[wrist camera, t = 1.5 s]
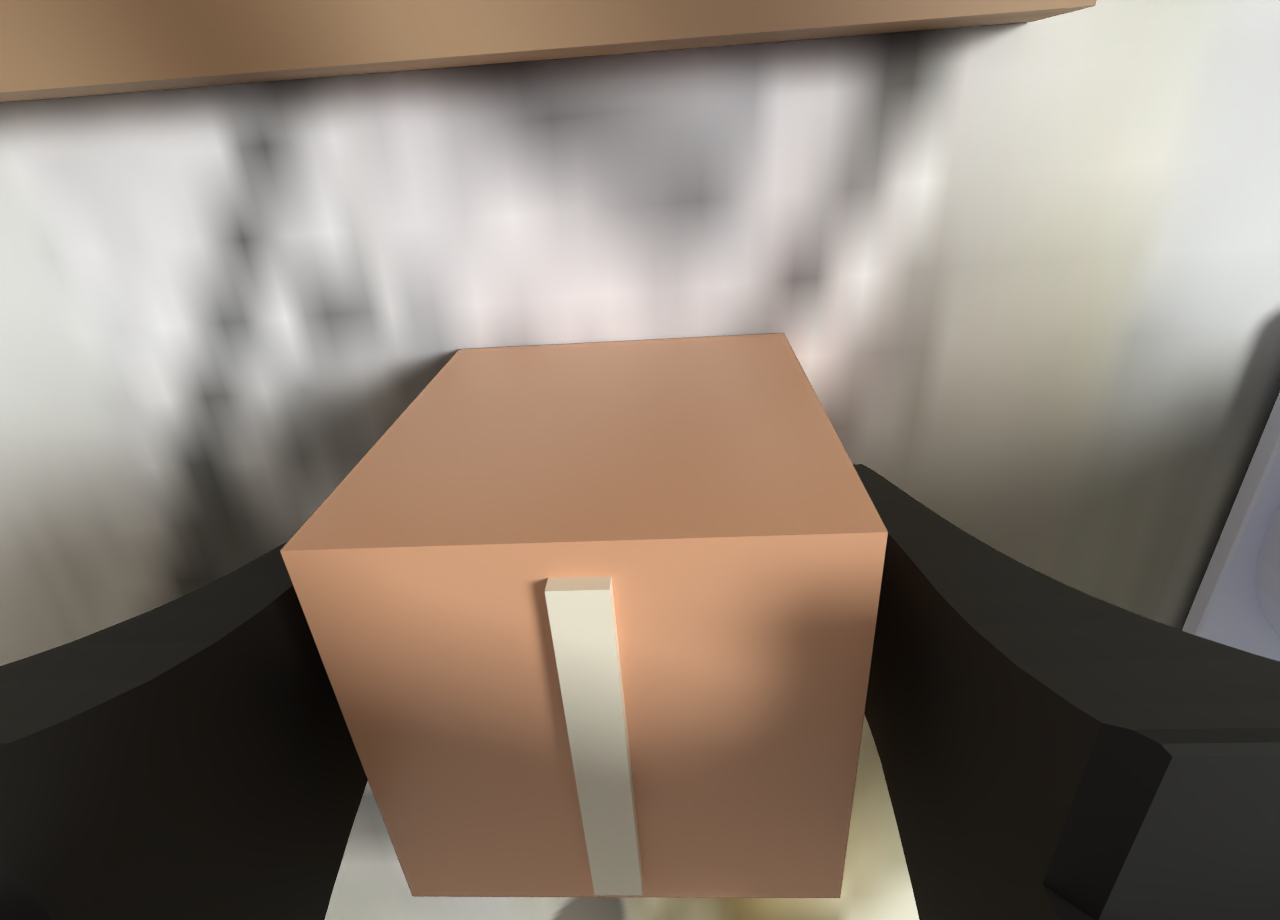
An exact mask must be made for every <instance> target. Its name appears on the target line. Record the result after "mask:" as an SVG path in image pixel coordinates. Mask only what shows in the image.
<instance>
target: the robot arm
mask: <svg viewBox="0 0 1280 920" xmlns="http://www.w3.org/2000/svg"><path fill="white" fill-rule="evenodd" d="M853 466H854V468H855V470H856V472H857V474H858V476H859V478H860V480H861V481H862V483H863V485H864V487H865V489H866V491H867V493H868V495H869V497H870V499H871V501H872V503H873V504H874V506H875V508H876V510H877V512H878V514H879V516H880V518H881V520H882V522H883V524H884V526H885V527H886V529H887V531H888V536H887V543H886V551H885V559H884V566H883V574H882V582H881V589H880V597H879V605H878V612H877V620H876V627H875V635H874V643H873V650H872V658H871V666H870V673H869V681H868V689H867V696H866V704H865V712H864V713H865V716H866V719H867V721H868V724H869V727H870V729H871V732H872V735H873V738H874V741H875V744H876V747H877V751H878V754H879V757H880V760H881V764H882V768H883V771H884V775H885V779H886V783H887V787H888V791H889V795H890V798H891V802H892V806H893V810H894V814H895V818H896V822H897V826H898V830H899V834H900V838H901V842H902V846H903V851H904V855H905V859H906V863H907V867H908V871H909V875H910V880H911V884H912V888H913V892H914V897H915V901H916V906H917V910H918V915H919V919H920V920H1280V392H1279V395H1278V397H1277V400H1276V402H1275V405H1274V407H1273V409H1272V412H1271V414H1270V417H1269V419H1268V422H1267V424H1266V426H1265V429H1264V431H1263V434H1262V436H1261V439H1260V441H1259V444H1258V446H1257V448H1256V451H1255V453H1254V456H1253V458H1252V461H1251V463H1250V465H1249V468H1248V470H1247V473H1246V475H1245V478H1244V480H1243V483H1242V485H1241V487H1240V490H1239V492H1238V495H1237V497H1236V500H1235V502H1234V504H1233V507H1232V509H1231V512H1230V514H1229V517H1228V519H1227V522H1226V524H1225V526H1224V529H1223V531H1222V534H1221V536H1220V539H1219V541H1218V543H1217V546H1216V548H1215V551H1214V553H1213V556H1212V558H1211V561H1210V563H1209V565H1208V568H1207V570H1206V573H1205V575H1204V578H1203V580H1202V582H1201V585H1200V587H1199V590H1198V592H1197V595H1196V597H1195V600H1194V602H1193V604H1192V607H1191V609H1190V612H1189V614H1188V617H1187V619H1186V621H1185V624H1184V626H1183V629H1182V631H1181V630H1178V629H1176V628H1173V627H1170V626H1167V625H1164V624H1161V623H1159V622H1156V621H1153V620H1150V619H1147V618H1145V617H1142V616H1140V615H1137V614H1135V613H1132V612H1130V611H1127V610H1125V609H1122V608H1120V607H1117V606H1114V605H1112V604H1109V603H1107V602H1104V601H1102V600H1099V599H1097V598H1094V597H1092V596H1090V595H1087V594H1085V593H1083V592H1080V591H1078V590H1076V589H1074V588H1071V587H1069V586H1067V585H1065V584H1062V583H1060V582H1058V581H1056V580H1054V579H1052V578H1050V577H1048V576H1046V575H1044V574H1042V573H1040V572H1038V571H1036V570H1033V569H1031V568H1029V567H1027V566H1025V565H1023V564H1021V563H1019V562H1017V561H1015V560H1014V559H1012V558H1010V557H1008V556H1006V555H1004V554H1002V553H1000V552H999V551H997V550H995V549H994V548H992V547H990V546H988V545H987V544H985V543H983V542H981V541H980V540H978V539H976V538H975V537H973V536H971V535H969V534H968V533H966V532H964V531H963V530H961V529H960V528H958V527H956V526H955V525H953V524H952V523H950V522H948V521H947V520H945V519H944V518H942V517H941V516H939V515H938V514H936V513H935V512H933V511H931V510H930V509H928V508H927V507H925V506H924V505H923V504H921V503H920V502H918V501H917V500H915V499H914V498H912V497H911V496H909V495H908V494H906V493H905V492H904V491H902V490H901V489H899V488H898V487H896V486H895V485H893V484H892V483H891V482H889V481H888V480H886V479H885V478H883V477H882V476H880V475H879V474H877V473H876V472H874V471H873V470H871V469H870V468H868V467H866V466H864V465H862V464H858V465H853ZM287 543H288V542H286V543H284V544H282V545H281V546H279V547H277V548H275V549H273V550H272V551H270V552H268V553H266V554H264V555H263V556H261V557H259V558H257V559H255V560H254V561H252V562H250V563H248V564H247V565H245V566H243V567H241V568H239V569H238V570H236V571H234V572H232V573H230V574H228V575H226V576H224V577H222V578H220V579H218V580H216V581H214V582H212V583H210V584H208V585H206V586H204V587H202V588H200V589H198V590H196V591H193V592H191V593H189V594H187V595H185V596H183V597H180V598H178V599H176V600H174V601H172V602H170V603H168V604H165V605H163V606H161V607H158V608H156V609H154V610H152V611H149V612H147V613H144V614H142V615H139V616H136V617H134V618H131V619H129V620H126V621H124V622H121V623H119V624H116V625H114V626H111V627H109V628H106V629H104V630H101V631H99V632H96V633H94V634H91V635H89V636H86V637H84V638H81V639H79V640H76V641H73V642H71V643H68V644H65V645H62V646H59V647H56V648H54V649H51V650H48V651H45V652H42V653H39V654H36V655H33V656H31V657H28V658H25V659H22V660H18V661H15V662H12V663H9V664H6V665H3V666H0V920H324V919H325V916H326V912H327V908H328V905H329V901H330V898H331V894H332V890H333V887H334V884H335V881H336V877H337V874H338V871H339V868H340V864H341V861H342V858H343V855H344V851H345V848H346V845H347V842H348V838H349V835H350V832H351V829H352V825H353V822H354V819H355V816H356V813H357V810H358V807H359V805H360V802H361V799H362V796H363V793H364V790H365V787H366V784H367V781H368V779H367V776H366V774H365V771H364V768H363V766H362V763H361V761H360V758H359V755H358V753H357V750H356V748H355V745H354V742H353V740H352V737H351V735H350V732H349V729H348V727H347V724H346V721H345V719H344V716H343V714H342V711H341V708H340V706H339V703H338V701H337V698H336V695H335V693H334V690H333V688H332V685H331V682H330V680H329V677H328V675H327V672H326V669H325V667H324V664H323V662H322V659H321V656H320V654H319V651H318V648H317V646H316V643H315V641H314V638H313V635H312V633H311V630H310V628H309V625H308V622H307V620H306V617H305V615H304V612H303V609H302V607H301V604H300V602H299V599H298V596H297V594H296V591H295V589H294V586H293V583H292V581H291V578H290V575H289V573H288V570H287V568H286V565H285V562H284V560H283V557H282V555H281V552H280V550H281V549H282V548H283V547H284V546H285V545H286V544H287Z"/></svg>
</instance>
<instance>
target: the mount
mask: <svg viewBox="0 0 1280 920" xmlns="http://www.w3.org/2000/svg"><path fill="white" fill-rule="evenodd" d="M1095 4H1096V0H0V102H12V101H25V100H37V99H50V98H63V97H76V96H89V95H101V94H114V93H127V92H140V91H152V90H165V89H178V88H191V87H203V86H216V85H229V84H242V83H254V82H267V81H280V80H293V79H306V78H318V77H331V76H344V75H357V74H369V73H382V72H395V71H408V70H420V69H433V68H446V67H459V66H471V65H484V64H497V63H510V62H523V61H535V60H548V59H561V58H574V57H586V56H599V55H612V54H625V53H637V52H650V51H663V50H676V49H688V48H701V47H714V46H727V45H740V44H752V43H765V42H778V41H791V40H803V39H816V38H829V37H842V36H854V35H867V34H880V33H893V32H905V31H918V30H931V29H944V28H956V27H969V26H982V25H995V24H1008V23H1020V22H1033V21H1037V20H1041V19H1045V18H1049V17H1052V16H1056V15H1060V14H1064V13H1068V12H1072V11H1076V10H1080V9H1084V8H1088V7H1092V6H1095Z"/></svg>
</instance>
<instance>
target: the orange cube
mask: <svg viewBox="0 0 1280 920" xmlns="http://www.w3.org/2000/svg"><path fill="white" fill-rule="evenodd" d="M887 536H888V531H887V529H886V527H885V526H884V524H883V522H882V520H881V518H880V516H879V514H878V512H877V510H876V508H875V506H874V504H873V503H872V501H871V499H870V497H869V495H868V493H867V491H866V489H865V487H864V485H863V483H862V481H861V480H860V478H859V476H858V474H857V472H856V470H855V468H854V466H853V464H852V462H851V460H850V458H849V457H848V455H847V453H846V451H845V449H844V447H843V445H842V443H841V441H840V439H839V437H838V435H837V434H836V432H835V430H834V428H833V426H832V424H831V422H830V420H829V418H828V416H827V414H826V413H825V411H824V409H823V407H822V405H821V403H820V401H819V399H818V397H817V395H816V393H815V391H814V390H813V388H812V386H811V384H810V382H809V380H808V378H807V376H806V374H805V372H804V370H803V368H802V367H801V365H800V363H799V361H798V359H797V357H796V355H795V353H794V351H793V349H792V347H791V345H790V344H789V342H788V340H787V338H786V336H785V334H784V333H774V334H754V335H734V336H714V337H695V338H675V339H655V340H635V341H615V342H595V343H575V344H555V345H535V346H516V347H496V348H476V349H459V350H458V351H457V352H456V354H455V355H454V356H453V357H452V358H451V359H450V360H449V361H448V363H447V364H446V365H445V366H444V367H443V368H442V369H441V370H440V372H439V373H438V374H437V375H436V376H435V377H434V378H433V379H432V381H431V382H430V383H429V384H428V385H427V386H426V387H425V388H424V390H423V391H422V392H421V393H420V394H419V395H418V396H417V397H416V399H415V400H414V401H413V402H412V403H411V404H410V405H409V406H408V408H407V409H406V410H405V411H404V412H403V413H402V414H401V415H400V417H399V418H398V419H397V420H396V421H395V422H394V423H393V424H392V426H391V427H390V428H389V429H388V430H387V431H386V432H385V433H384V435H383V436H382V437H381V438H380V439H379V440H378V441H377V442H376V444H375V445H374V446H373V447H372V448H371V449H370V450H369V451H368V453H367V454H366V455H365V456H364V457H363V458H362V459H361V460H360V462H359V463H358V464H357V465H356V466H355V467H354V468H353V469H352V471H351V472H350V473H349V474H348V475H347V476H346V477H345V478H344V480H343V481H342V482H341V483H340V484H339V485H338V486H337V487H336V489H335V490H334V491H333V492H332V493H331V494H330V495H329V496H328V498H327V499H326V500H325V501H324V502H323V503H322V504H321V505H320V507H319V508H318V509H317V510H316V511H315V512H314V513H313V514H312V516H311V517H310V518H309V519H308V520H307V521H306V522H305V523H304V525H303V526H302V527H301V528H300V529H299V530H298V531H297V532H296V534H295V535H294V536H293V537H292V538H291V539H290V540H289V541H288V543H287V544H286V545H285V546H284V547H283V548H282V549H281V550H280V552H281V555H282V557H283V560H284V562H285V565H286V568H287V570H288V573H289V575H290V578H291V581H292V583H293V586H294V589H295V591H296V594H297V596H298V599H299V602H300V604H301V607H302V609H303V612H304V615H305V617H306V620H307V622H308V625H309V628H310V630H311V633H312V635H313V638H314V641H315V643H316V646H317V648H318V651H319V654H320V656H321V659H322V662H323V664H324V667H325V669H326V672H327V675H328V677H329V680H330V682H331V685H332V688H333V690H334V693H335V695H336V698H337V701H338V703H339V706H340V708H341V711H342V714H343V716H344V719H345V721H346V724H347V727H348V729H349V732H350V735H351V737H352V740H353V742H354V745H355V748H356V750H357V753H358V755H359V758H360V761H361V763H362V766H363V768H364V771H365V774H366V776H367V779H368V781H369V784H370V787H371V789H372V792H373V794H374V797H375V800H376V802H377V805H378V808H379V810H380V813H381V815H382V818H383V821H384V823H385V826H386V828H387V831H388V834H389V836H390V839H391V841H392V844H393V847H394V849H395V852H396V854H397V857H398V860H399V862H400V865H401V868H402V870H403V873H404V875H405V878H406V881H407V883H408V886H409V888H410V891H411V894H412V896H449V897H696V898H840V895H841V887H842V880H843V872H844V865H845V857H846V849H847V842H848V834H849V826H850V819H851V811H852V803H853V796H854V788H855V780H856V773H857V765H858V757H859V750H860V742H861V735H862V727H863V719H864V712H865V704H866V696H867V689H868V681H869V673H870V666H871V658H872V650H873V643H874V635H875V627H876V620H877V612H878V605H879V597H880V589H881V582H882V574H883V566H884V559H885V551H886V543H887Z"/></svg>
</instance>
